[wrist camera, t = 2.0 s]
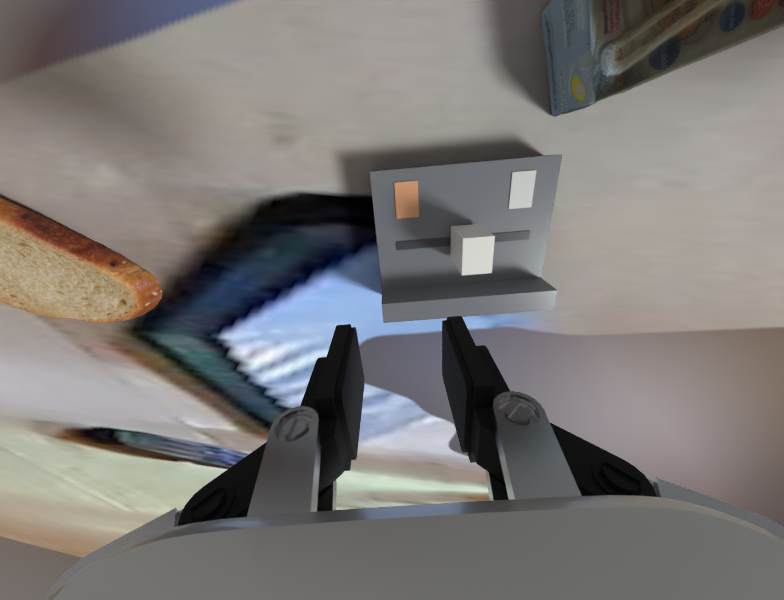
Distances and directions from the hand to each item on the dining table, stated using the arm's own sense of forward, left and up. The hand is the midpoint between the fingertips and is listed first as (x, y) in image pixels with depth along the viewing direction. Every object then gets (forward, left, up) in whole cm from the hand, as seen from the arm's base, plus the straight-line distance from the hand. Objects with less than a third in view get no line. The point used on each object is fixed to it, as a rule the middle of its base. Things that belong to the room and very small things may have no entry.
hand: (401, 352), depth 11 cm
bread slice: (+36, -1, -20) cm, 41 cm away
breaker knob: (-6, 0, -16) cm, 17 cm away
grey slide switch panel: (-7, 0, -19) cm, 20 cm away
